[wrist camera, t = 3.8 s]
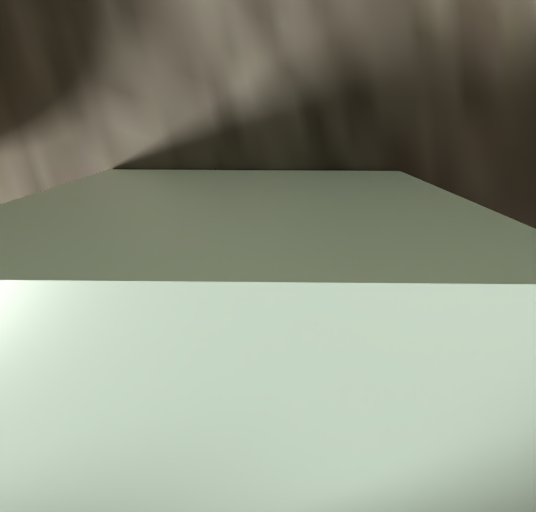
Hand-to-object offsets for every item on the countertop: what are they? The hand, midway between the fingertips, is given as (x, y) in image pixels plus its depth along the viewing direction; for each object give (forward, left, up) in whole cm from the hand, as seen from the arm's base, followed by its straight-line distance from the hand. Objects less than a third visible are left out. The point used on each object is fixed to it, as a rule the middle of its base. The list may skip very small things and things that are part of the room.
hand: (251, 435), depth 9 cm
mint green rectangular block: (0, 0, -2) cm, 2 cm away
